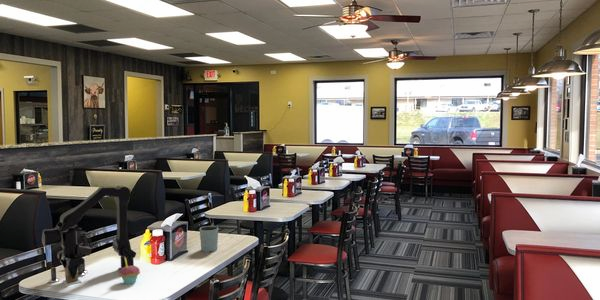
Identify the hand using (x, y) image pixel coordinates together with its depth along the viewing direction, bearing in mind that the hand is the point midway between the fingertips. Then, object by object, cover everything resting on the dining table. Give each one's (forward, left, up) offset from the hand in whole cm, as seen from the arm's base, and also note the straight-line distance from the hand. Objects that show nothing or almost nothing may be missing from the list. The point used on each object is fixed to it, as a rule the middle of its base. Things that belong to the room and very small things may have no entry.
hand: (71, 276), depth 205 cm
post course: (+14, -1, -2) cm, 14 cm away
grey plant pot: (0, -69, -2) cm, 70 cm away
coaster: (-1, 0, -2) cm, 2 cm away
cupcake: (-19, -18, -2) cm, 26 cm away
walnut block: (0, 0, -2) cm, 2 cm away
